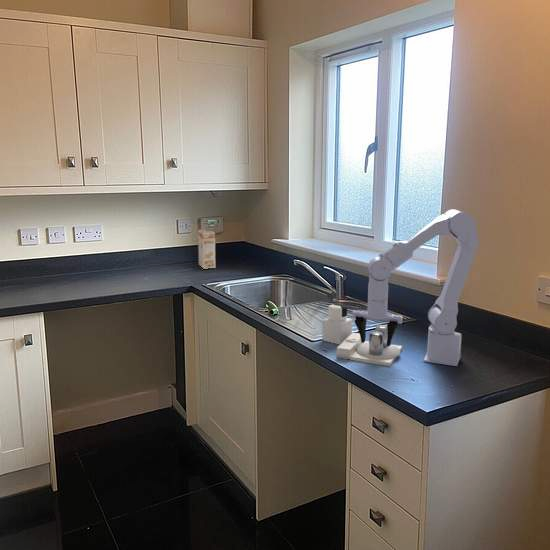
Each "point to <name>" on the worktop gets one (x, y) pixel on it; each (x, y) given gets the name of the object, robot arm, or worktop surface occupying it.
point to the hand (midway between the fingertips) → (375, 343)
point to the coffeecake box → (206, 248)
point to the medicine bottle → (336, 324)
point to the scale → (366, 351)
